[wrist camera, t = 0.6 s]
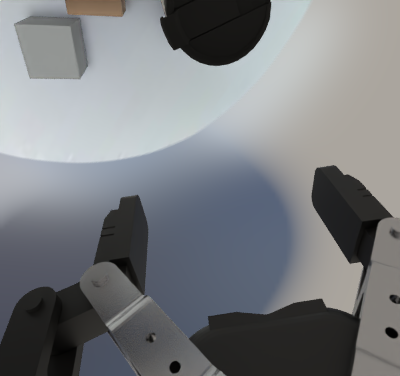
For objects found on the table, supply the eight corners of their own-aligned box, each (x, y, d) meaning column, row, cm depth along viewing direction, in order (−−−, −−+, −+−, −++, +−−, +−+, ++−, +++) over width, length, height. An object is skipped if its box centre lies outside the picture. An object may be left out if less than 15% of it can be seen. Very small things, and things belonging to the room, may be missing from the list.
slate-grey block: (30, 16, 31) (14, 24, 27) (79, 18, 32) (69, 26, 28) (43, 65, 34) (29, 78, 30) (87, 66, 35) (80, 79, 31)
